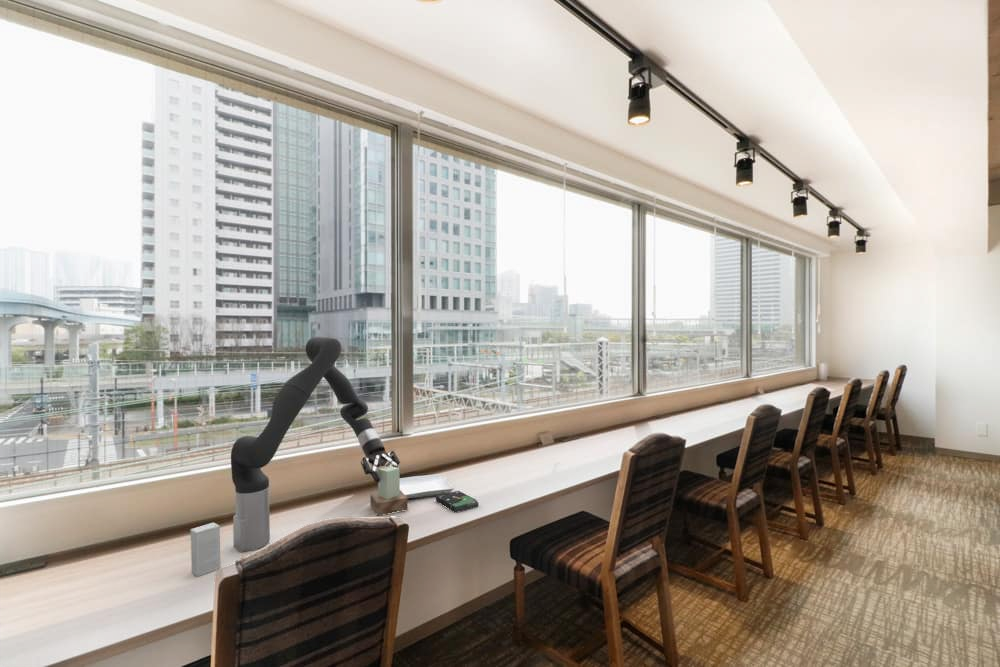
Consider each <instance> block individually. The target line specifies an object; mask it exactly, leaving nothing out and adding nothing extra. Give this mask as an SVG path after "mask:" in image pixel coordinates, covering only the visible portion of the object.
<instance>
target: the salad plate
mask: <svg viewBox="0 0 1000 667" xmlns="http://www.w3.org/2000/svg"><path fill="white" fill-rule="evenodd" d="M453 490H454V487H453V485H452V484H451V482H449V481H448V479H447V478H446V477H445V476H444V474H441V473H438V474H426V475H416V476H407V477H402V478H401V477H400V491H401V492H402V493H403V494H404V495H405V496H406V497H407V500H409V498H411V499H417V497H419V498H426V497H425V496H427V497H432V495H434V496H438V495H439V494H441V495H445V494H446V493H451V492H453Z"/></svg>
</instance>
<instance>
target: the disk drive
mask: <svg viewBox="0 0 1000 667" xmlns="http://www.w3.org/2000/svg"><path fill="white" fill-rule="evenodd" d="M436 501H437V502H436ZM435 502H436V503H437V504H439V503H441V504H442V505H441V504H440V505H441V506H443V505H444V506H446V507H447V508H446V507H445V508H446V509H448V508H449V509H448V510H450V509H451V510H452V511H451V510H450V511H451V512H453V511H454V512H453V513H455V512H456V513H459V512H458V511H460V512H463V510H464V511H467V509H468V510H471V509H475V508H478V507H479V501H478V500H477V499H475V498H474V497H472V496H470V495H468V494H465V493H463V492H462V491H459V490H456V491H450V492H448V493H445V494H441V495H435ZM444 506H443V507H444Z"/></svg>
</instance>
